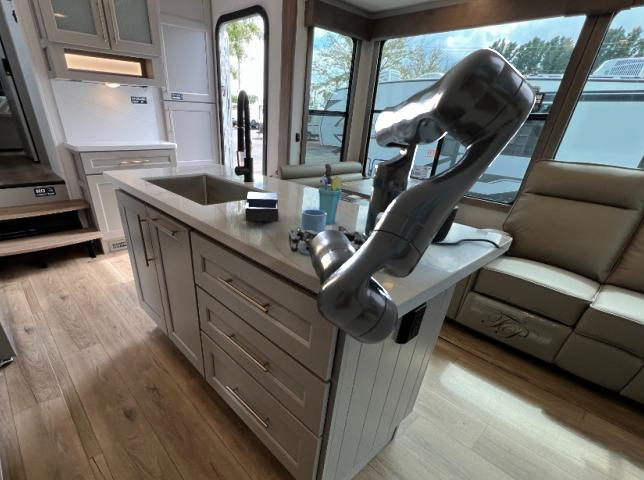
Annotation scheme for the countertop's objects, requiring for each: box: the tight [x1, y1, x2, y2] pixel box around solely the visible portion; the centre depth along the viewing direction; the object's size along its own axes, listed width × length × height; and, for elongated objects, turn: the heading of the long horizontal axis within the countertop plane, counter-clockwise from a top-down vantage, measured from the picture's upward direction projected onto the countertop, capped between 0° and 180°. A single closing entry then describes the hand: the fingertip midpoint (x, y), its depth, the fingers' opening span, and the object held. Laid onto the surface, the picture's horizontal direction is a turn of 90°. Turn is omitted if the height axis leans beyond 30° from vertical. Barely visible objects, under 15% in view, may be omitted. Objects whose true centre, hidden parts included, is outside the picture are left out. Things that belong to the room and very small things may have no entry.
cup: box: [318, 176, 343, 225], centre depth 102 cm, size 14×8×15 cm, turn 151°
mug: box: [432, 205, 459, 243], centre depth 93 cm, size 12×9×10 cm
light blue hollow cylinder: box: [299, 209, 326, 256], centre depth 79 cm, size 6×6×10 cm
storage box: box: [245, 191, 279, 222], centre depth 103 cm, size 10×19×7 cm, turn 3°
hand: (320, 229), depth 68 cm, fingers open, 8 cm apart
